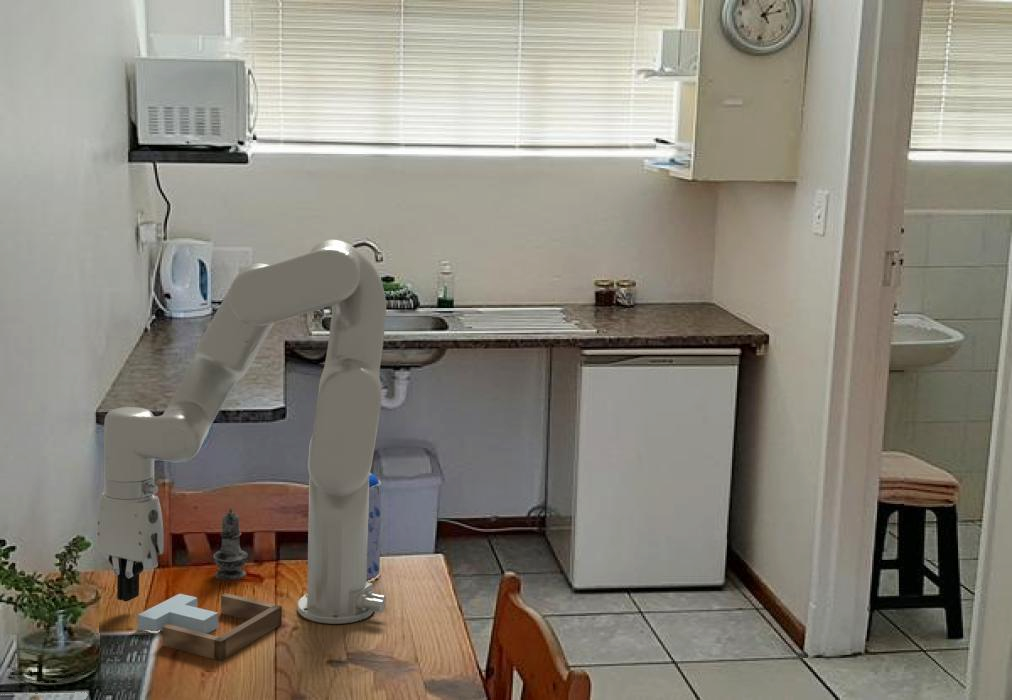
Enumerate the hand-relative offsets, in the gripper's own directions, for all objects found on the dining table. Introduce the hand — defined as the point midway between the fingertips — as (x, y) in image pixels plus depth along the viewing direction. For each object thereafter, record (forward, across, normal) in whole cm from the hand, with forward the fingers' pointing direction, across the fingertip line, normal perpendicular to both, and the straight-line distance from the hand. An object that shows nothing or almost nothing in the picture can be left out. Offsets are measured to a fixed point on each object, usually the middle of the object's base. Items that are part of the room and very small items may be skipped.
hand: (128, 597), depth 196 cm
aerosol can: (+2, -23, -32) cm, 40 cm away
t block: (+2, -11, 0) cm, 11 cm away
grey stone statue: (+2, -4, -21) cm, 22 cm away
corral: (+2, -18, 0) cm, 18 cm away
